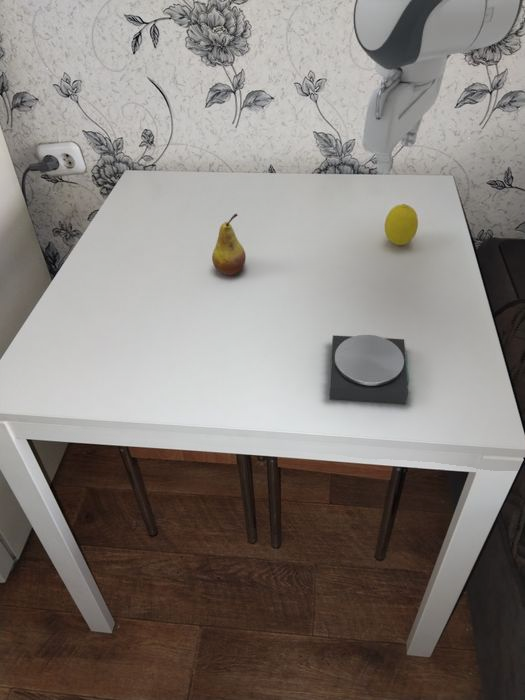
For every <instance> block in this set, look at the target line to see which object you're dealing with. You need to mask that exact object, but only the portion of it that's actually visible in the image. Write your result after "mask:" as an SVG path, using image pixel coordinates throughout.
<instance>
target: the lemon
mask: <svg viewBox="0 0 525 700" xmlns="http://www.w3.org/2000/svg"><path fill="white" fill-rule="evenodd" d="M418 227H419V220H418V214H417V212H416V210H415V209H414V208H413V207H412V206H410V205H408V204H406V203H402V204H397V205H396V206H394V207H392V208H391V209H390V210H389V212H388V213H387V215H386V218H385V220H384V234H385V236H386V239H388V241H389V242H390V243H391V244H394V245H396V246H401V245H406V244H408V243H409V242H411V241H412V240H413V239H414V238H415V236H416V234H417V231H418Z"/></svg>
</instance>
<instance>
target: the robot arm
mask: <svg viewBox="0 0 525 700" xmlns="http://www.w3.org/2000/svg"><path fill="white" fill-rule="evenodd" d="M523 3H524V0H355V3H354V8H353V29H354V34H355V37H356V40H357V43H358V44H359V46H360V48H361V49H362V50H363V51H364V53H365V54H366V55H367V56H368V57H369V58H370V59H371V60H373V61H374V62H375V63H374V64H375V65H374V70H375V72H376V73H377V74H378V75H379V76H381V77H382V80H381V81H380V84H379V85H378V86H377V87H376V88H375V89H374V90H373V91H372V93H371V95H370V97H369V100H368V104H367V108H366V113H365V120H364V125H363V126H364V127H363V133H362V147H363V151H364V152H368V153H371V154H375V157H376V161H377V164H376V172H377V174H378V173H379V174H381V175H388V174H389V173H390V172H391V171H392V170H393V166H394V158H392V157H393V154H392V153H393V151H394V149H395V148H396V146H397V145H398V144H401V145H402V146H404V147H408V148H411V147H413V146H414V145H415V143H416V142H417V136H418V132H419V129H420V126H421V124H422V122H423V118H424V115H426V114H427V112H428V111H429V110H430V109H431V108H432V107H433V106H434V105H435V103H436V101H437V99H438V97H439V94H440V92H441V91H440V90H441V86H442V83H443V79H444V75H445V72H446V67H447V66H446V65H447V62H448V59H449V58H450V57H451V56H452V55H456V54H460V53H465V52H469V51H474V50H478V49H483V48H486V47H489V46H492V45H494V44H498V43H500V42H502V41H503V40H504V39H505V38H506V37H507V36H508V35H509V34H510V32H511V31H512V30H513V29H514V26H515V25H516V23H517V21H518V19H519V17H520V13H521V11H522V8H523Z"/></svg>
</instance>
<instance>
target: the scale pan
mask: <svg viewBox="0 0 525 700" xmlns="http://www.w3.org/2000/svg"><path fill="white" fill-rule="evenodd" d="M385 338H386V337H382V336H379V335H374V334H360V335H355V336H353V337H351V338H349V339H347V340H345V341H343V342H342V343H341V344H340V345H339V346H338V348H337V350H336V352H335V365H336V367H337V369H338V371H339V372H340V373H341V374H342V375H343V376H344V377H345V378H347V379H348V380H350V381H352V382H354V383H357V384H360V385H366V386H379V385H384V384H387V383H389V382H391V381H393V380H395V379H396V378H397V377H398V376H399V375H400V373H401V372H402V370H403V365H404V358H403V355H402V352H401V351H400V349H399V348H398V347H397V346H396V345H395V344H394V343H392V342H391V341H389V340H387V339H385Z"/></svg>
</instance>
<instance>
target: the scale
mask: <svg viewBox="0 0 525 700" xmlns="http://www.w3.org/2000/svg"><path fill="white" fill-rule="evenodd" d="M351 337H354V336H350V335H336V334H335V335H332V340H331V359H330V360H331V361H330V378H329V379H330V380H329V400H331V401H346V402H357V403H358V402H359V403H372V404H373V403H375V404H388V405H390V404H391V405H404V406H405V405H406V404H407V399H408V395H409V384H410V377H409V364H408V354H406V345H405V344H406V343H405V339H404V338H390V337H389V338H388V337H384V338H385V339H387V340H389V341H391V342H392V343H394V344H395V345H396V346H397V347H398V348H399V349H400V351H401V352H402V355H403V358H404V365H403V370H402V372H401V373H400V375H399V376H398V377H397V378H396V379H395V380H393V381H391V382H389V383H387V384H384V385H379V386H366V385H360V384H357V383H354V382H352V381H350V380H348V379H347V378H345V377H344V376H343V375H342V374H341V373H340V372H339V371H338V369H337V367H336V365H335V352H336V350H337V348H338V346H339V345H340V344H341V343H342V342H343V341H345V340H347V339H349V338H351Z"/></svg>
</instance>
